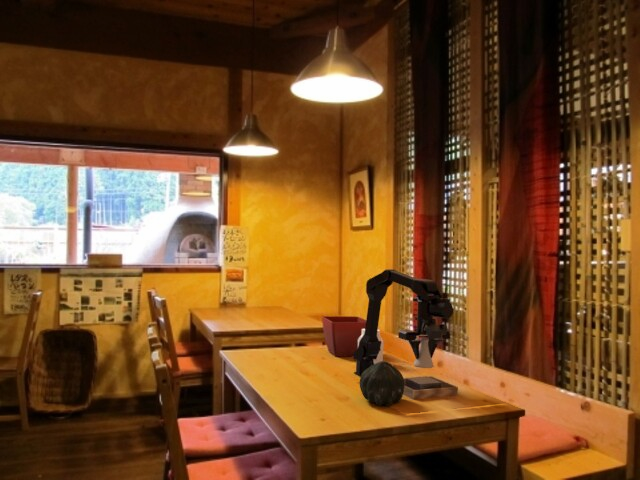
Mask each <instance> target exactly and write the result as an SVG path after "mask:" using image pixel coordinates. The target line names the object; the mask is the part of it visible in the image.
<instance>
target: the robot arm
mask: <svg viewBox="0 0 640 480" xmlns="http://www.w3.org/2000/svg"><path fill="white" fill-rule="evenodd" d="M395 283H396V284H398V285H400V286H403V287H406V288H408V289H410V290H411V291H412V293H413V294H415V295H416V296H415V297H414V298H413V299H412V301H413V302H416V303H417V308H416V309H417V310H416V312H417V313H416V315H417V316H415V317H414V321H416V328H414V330H409V329H401V330H399V332H398V337H397V338H398V339H400V340H404V341H407V342H408V344H409V345H410V347H411V350H412V352H413V354H414V356H415V357H414V358H415V360H416V359H419V350H420V345H421V340H420V338H428V339H429V341H428V348H429V352H430V356H431V359H433V356H434V354H435V351H436V350H437V349H436V348H437V346H438V345H439V344H440V343H442V342H443V341H444V340H450V339H451V332H450V330H448V325H447V324H444V323H441V324H437V320H436V318H442V319H450V318H451V317H452V316H453V314H454V307H453V304H452V303H451V302H450V301H451V300H450V298H443V296H442V294H441V292H440V290H439V288H438V286H437V284H436V281H435V280H433V279H427V278H426V279H425V278H417V277H414V276H411V275H409V274H406V273H404V272H403V273H402V272H400V271H398V270H396V269H391V268H390V269H384V270H383V271H382V272H380V273H378V274H376V275H374V276H373V277H371V278H369V279H367V281H366V285H365V287H366V288H365V293H366V295H367V298H368V305H367V312H366V319H365V320H366V326H365V333H364V335H363V337H362V338H361V340H360V342H359V346H358V349H357V350H356V351H355V352H354V353H353V356H352V359H353V360H355V361H356V365H355V371H354V372H353V373H354V375H357V376H358V377H361V375H362V373H363V372H364V371H365V370H366V369H367V368H369V367H370V366H372V365H374V363H373V361H374V360H373V359H377V355H378V354H379V351H381V349H380V346H381V341H379V340H378V338H377V330H378V329H379V321H380V313H381V306H382V301H383V300H384V298H385V297H386V295H387V292H388V289H389V287H390V286H392V285H393V284H395ZM435 317H436V318H435Z"/></svg>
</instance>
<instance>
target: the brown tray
mask: <svg viewBox="0 0 640 480" xmlns="http://www.w3.org/2000/svg"><path fill="white" fill-rule="evenodd" d="M428 377H430V378H432V379H434V380H437V381H439V382H441V388H435V389H423V390H413V389H411V388H409V387H407V386H406V378H407V377H405V378H404V377H403V378H404V383H405V386H404V393H403V396H406V397H407V398H409V399H411V400H413V401H415V400H426V399H432V398H433V399H436V398H437V399H438V398H447V397H455V396H456V397H458V395H459V394H458V393H459V390H458V389H459V386H456V385H454V384H451V383H449V382H446V381H444V380H441V379H439V378H437V377H434V376H432V375H431V376H428Z"/></svg>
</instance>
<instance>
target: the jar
mask: <svg viewBox="0 0 640 480" xmlns="http://www.w3.org/2000/svg"><path fill="white" fill-rule="evenodd" d="M364 333H365V329H362V334H361V336H360V337H359V339H358V346H359V342H360V340H361V338H362V337H363V335H364ZM377 338H378V340H379V341H381V346H380V349H381V351H379V354H378V355H377V359H373V360H374V361H373V363H374V364H376V363H378V362H381V361H384V359H383V358H384V340H383V338H382V336H381V330H380V329H379V328H378V330H377Z"/></svg>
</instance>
